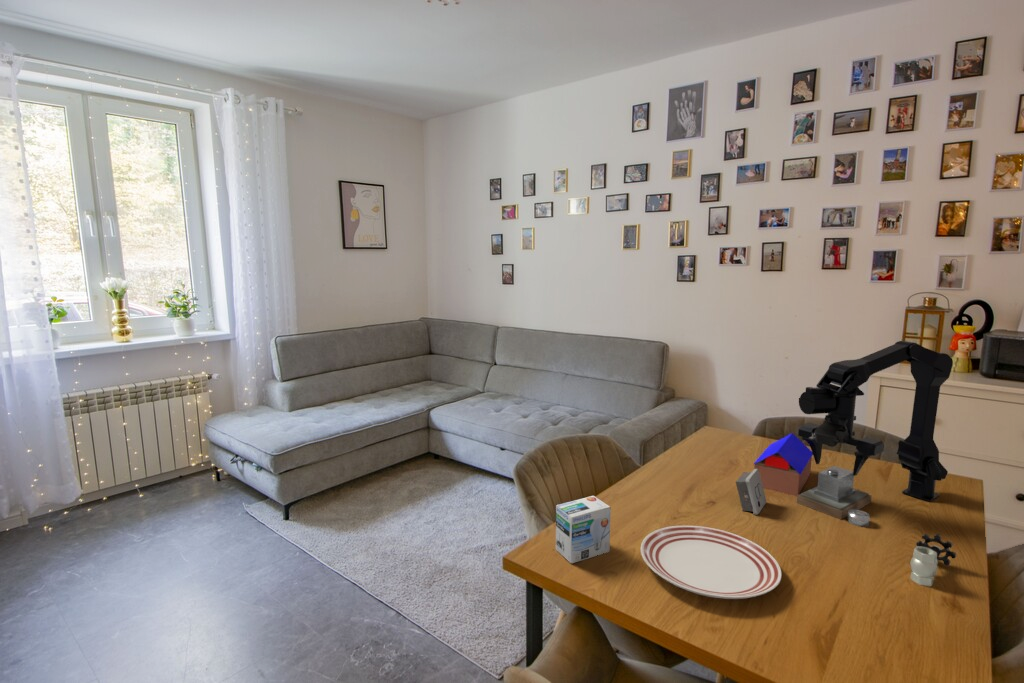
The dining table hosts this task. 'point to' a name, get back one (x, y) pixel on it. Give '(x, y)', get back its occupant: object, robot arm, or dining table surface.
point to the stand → (834, 503)
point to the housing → (835, 484)
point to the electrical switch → (751, 491)
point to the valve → (929, 559)
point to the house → (785, 465)
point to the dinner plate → (710, 562)
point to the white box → (582, 528)
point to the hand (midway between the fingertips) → (835, 469)
